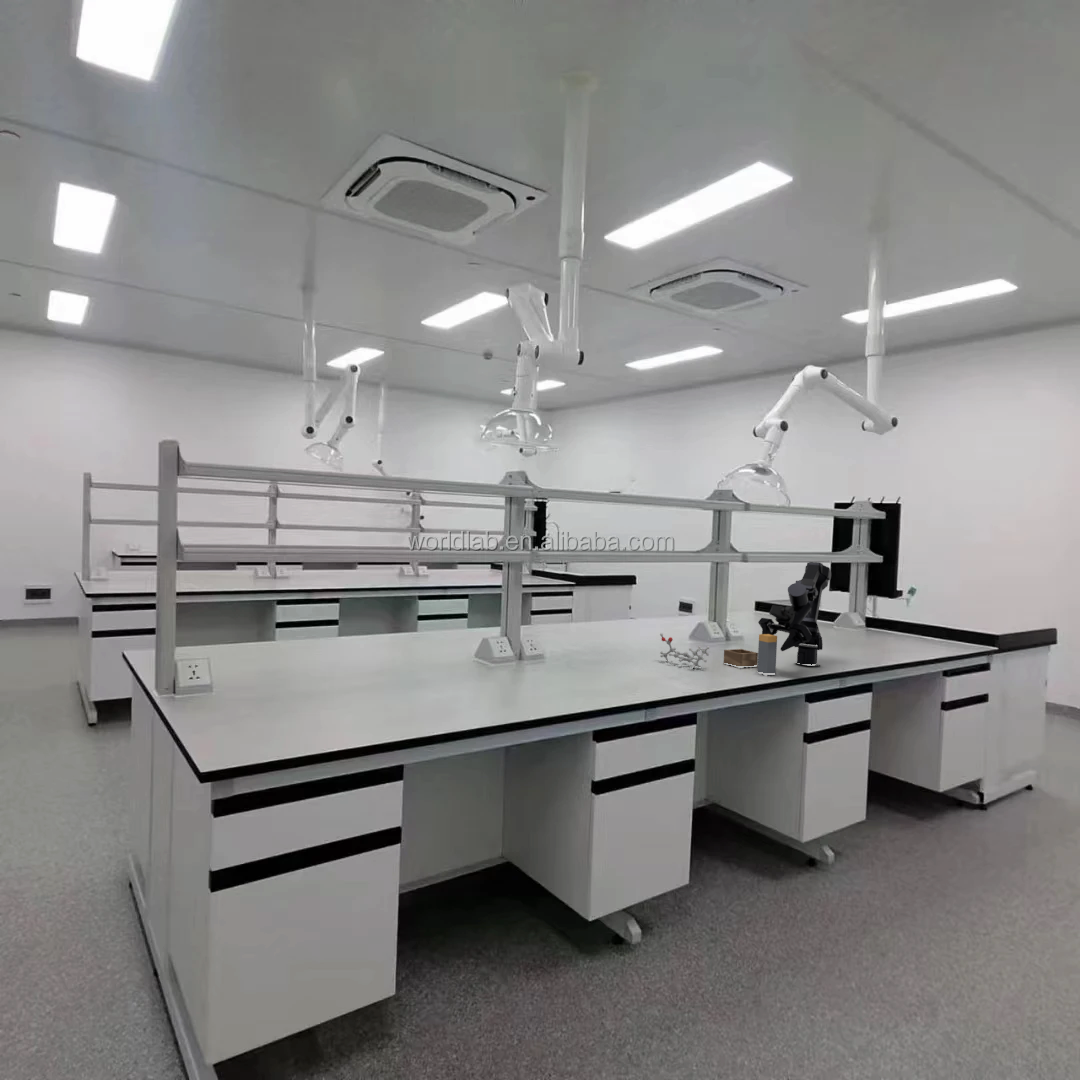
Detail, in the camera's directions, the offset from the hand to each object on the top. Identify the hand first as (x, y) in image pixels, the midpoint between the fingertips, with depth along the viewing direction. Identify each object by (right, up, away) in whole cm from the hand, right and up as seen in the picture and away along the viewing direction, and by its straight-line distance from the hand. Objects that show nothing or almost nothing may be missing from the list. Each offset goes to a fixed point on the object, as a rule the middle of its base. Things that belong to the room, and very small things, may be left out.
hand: (770, 647), depth 225 cm
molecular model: (-27, -8, +9) cm, 29 cm away
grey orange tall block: (-1, -9, 0) cm, 9 cm away
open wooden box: (-6, -8, +13) cm, 17 cm away
